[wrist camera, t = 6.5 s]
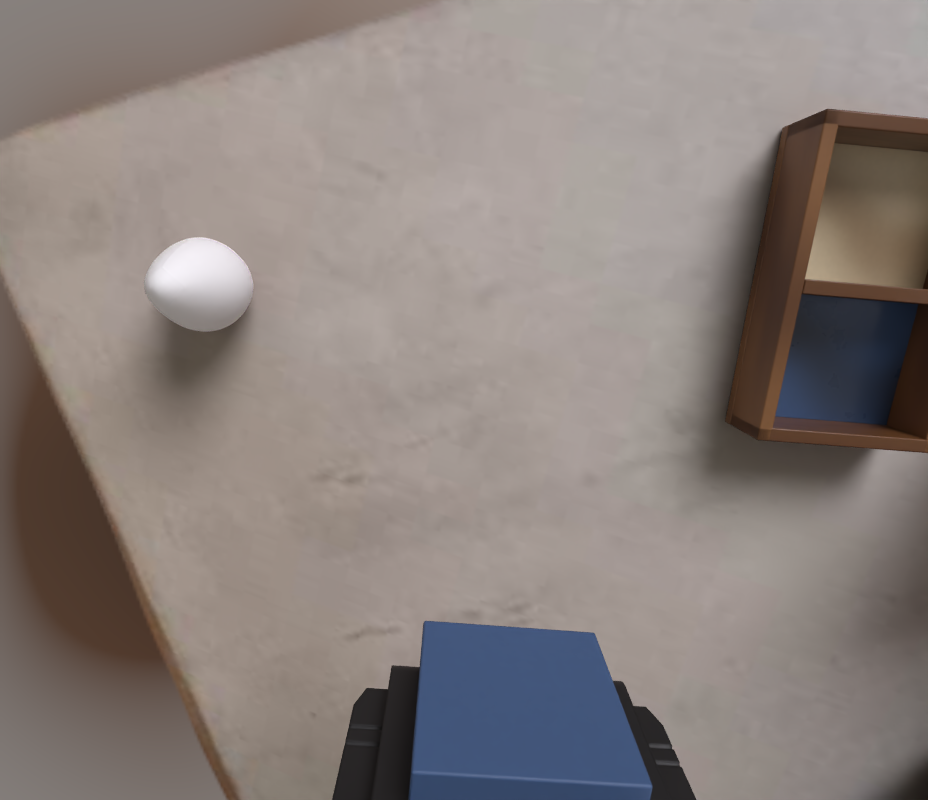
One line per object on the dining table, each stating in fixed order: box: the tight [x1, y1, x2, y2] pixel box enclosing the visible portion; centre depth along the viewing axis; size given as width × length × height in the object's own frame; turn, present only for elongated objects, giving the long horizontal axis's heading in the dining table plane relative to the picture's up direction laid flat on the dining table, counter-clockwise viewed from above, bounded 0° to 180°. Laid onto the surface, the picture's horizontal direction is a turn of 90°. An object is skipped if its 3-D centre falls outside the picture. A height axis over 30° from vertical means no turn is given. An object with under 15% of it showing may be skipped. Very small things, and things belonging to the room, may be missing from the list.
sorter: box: [725, 109, 928, 453], centre depth 24 cm, size 13×8×3 cm, turn 175°
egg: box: [144, 237, 253, 332], centre depth 23 cm, size 4×4×6 cm
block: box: [408, 621, 653, 800], centre depth 12 cm, size 4×4×4 cm
